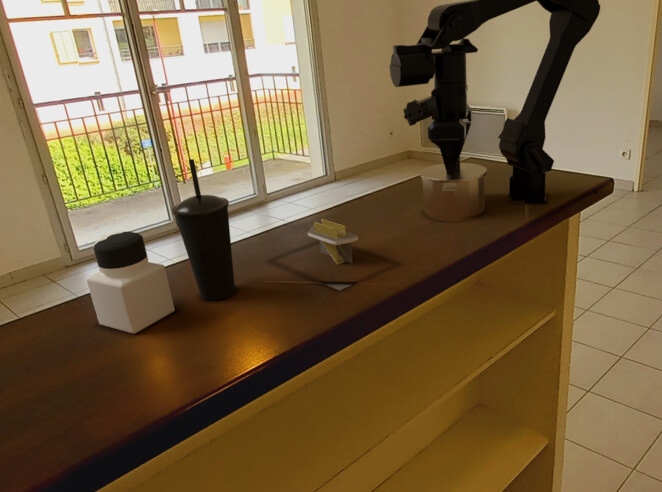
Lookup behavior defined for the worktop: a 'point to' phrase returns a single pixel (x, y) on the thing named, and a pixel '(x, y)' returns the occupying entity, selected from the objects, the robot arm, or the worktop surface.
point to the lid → (460, 174)
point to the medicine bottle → (128, 284)
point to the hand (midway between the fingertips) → (452, 167)
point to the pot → (453, 199)
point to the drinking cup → (207, 241)
